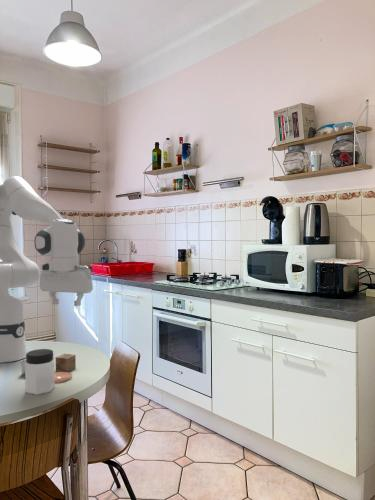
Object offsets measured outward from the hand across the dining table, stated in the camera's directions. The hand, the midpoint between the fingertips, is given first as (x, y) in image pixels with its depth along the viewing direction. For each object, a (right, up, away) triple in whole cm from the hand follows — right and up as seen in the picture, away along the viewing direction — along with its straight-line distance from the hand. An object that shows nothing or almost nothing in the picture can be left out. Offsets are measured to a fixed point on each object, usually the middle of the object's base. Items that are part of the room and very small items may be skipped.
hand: (66, 305), depth 143 cm
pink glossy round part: (-2, -25, -3) cm, 25 cm away
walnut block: (-2, -25, +7) cm, 26 cm away
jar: (-5, -26, -12) cm, 29 cm away
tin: (-14, -25, +2) cm, 29 cm away
